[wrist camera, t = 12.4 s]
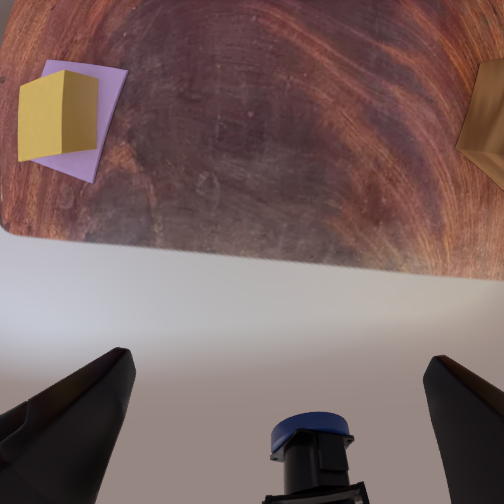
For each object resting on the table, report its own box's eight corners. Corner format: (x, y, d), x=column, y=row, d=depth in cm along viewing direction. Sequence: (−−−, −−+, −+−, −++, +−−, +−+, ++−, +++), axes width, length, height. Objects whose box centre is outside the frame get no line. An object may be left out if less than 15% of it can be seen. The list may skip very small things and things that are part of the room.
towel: (94, 182, 18) (92, 183, 18) (23, 156, 17) (20, 156, 17) (129, 71, 15) (127, 70, 15) (49, 60, 14) (47, 59, 14)
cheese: (97, 149, 17) (61, 153, 13) (54, 155, 17) (18, 162, 13) (99, 78, 15) (64, 69, 11) (55, 90, 15) (20, 86, 11)
